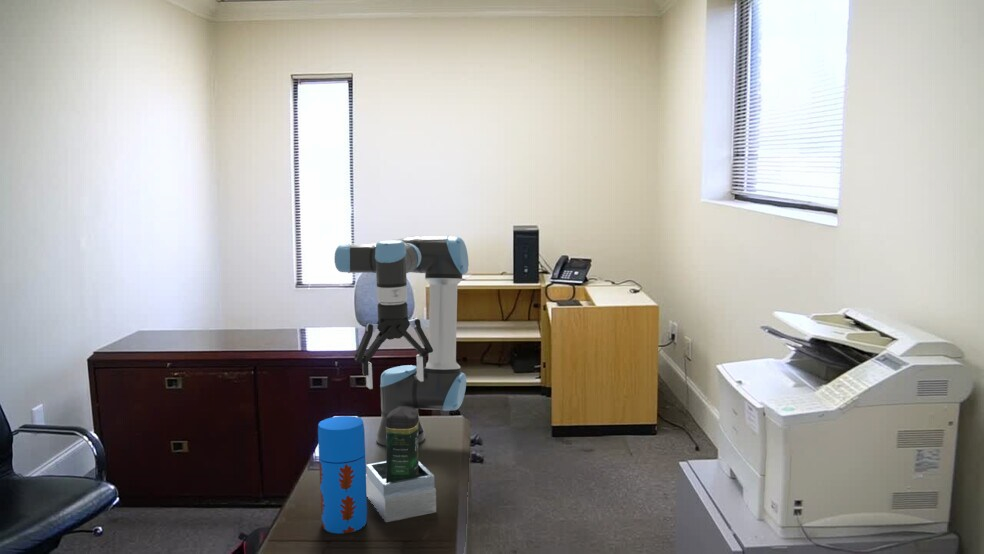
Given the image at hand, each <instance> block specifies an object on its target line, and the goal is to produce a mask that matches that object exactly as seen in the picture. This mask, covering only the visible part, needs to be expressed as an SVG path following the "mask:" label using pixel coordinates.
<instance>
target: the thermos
mask: <svg viewBox="0 0 984 554" xmlns="http://www.w3.org/2000/svg"><path fill="white" fill-rule="evenodd" d="M317 438H318V440H317V441H318V444H317V445H318V462H319V463H318V466H319V467H318V469H319V484H320V485H319V490H320V514H321V521H322V522H321V524H322V529H323V530H324V531H326V532H329V533H332V534H348V533H353V532H357V531H359V530H361V529H362V527H363V526H364V527H365V526H366V525H365V524H367V523H366V522H367V517H368V503H367V501H368V498H367V493H366V474H367V470H366V465H367V463H366V442H365V441H366V434H365V424H364V420H363V419H362V418H361V417H357V416H353V415H352V416H350V415H346V416H345V415H340V416H332V417H329V418H324V419H323V420H321V421H319V422H318V425H317ZM364 527H363V528H364ZM356 530H357V531H356Z"/></svg>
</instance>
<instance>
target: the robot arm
mask: <svg viewBox="0 0 984 554" xmlns="http://www.w3.org/2000/svg"><path fill="white" fill-rule="evenodd" d="M334 266H335V268H336V270H337V271H338V272H339V273H346V274H347V273H348V274H351V273H352V274H361V273H362V274H369V273H371V274H375V276H376V301H377V302H378V304H377V323H369V322H367V323H365V328H364V329H365V331H364V334H363V336H362V338H361V340H360V343H359V345H358V348H357V350H356V352H355V354H354V357H353V359H354V360H355V361H356V362H357V363H361V370H362V375H363V376H364V377H366V378H365V379H366V387H367V388H368V389H369V390H373V387H374V386H373V366H372V365H373V364H372V362H370V361H371V360H372V358H373V357H374V355H375V354H376V352H377V351H378V350H379V348H380V347H381V346H382V344H383V343H384V342H386V341H387V340H389V341H391V340H394V339H398V340H399V339H402V338H404V339H405V340H406V341H407V342H408V343H409V344H410V345H411V346H412V347H413V348H414V349H415V350H416V352H418V354H416V365H412V364H410V365H409V364H407V365H400V366H399V365H398V366H393V367H391V368H388V369H386V370H383V372H382V373H381V375H380V385H379V387H380V409H381V410H380V411H381V418H380V421H379V424H378V427H377V431H376V442H377V444H379V445H382V446H384V447H386V417H387V415H388V414H389V413H390V412H391V411H392V410H393V409H395V408H397V407H398V406H401V407H413V408H414V409H415V410H417V412H418V421H419V422H418V444H420V443H423V442H424V440H425V437H426V436H425V429H424V427H423V423H422V421H421V418H420V415H419V414H420V413H419V410H433V411H436V410H438V411H443V412H446V411H457V410H458V409H459V408H460V407H461V405H462V403H463V401H464V398H465V393H466V389H467V376H466V374H465V373H464V372H462V371H461V369H462V368H461V365H460V364H459V363H458V362H457V324H458V323H457V322H458V320H457V319H458V317H457V316H458V312H457V311H458V286H459V284H460V283H461V282H462V281H463V275H465V274H467V273H468V272H469V255H468V250H467V246H466V243H465V241H464V240H463V239H462V238H461V237H459V236H450V235H441V236H440V235H439V236H436V235H435V236H427V235H426V236H424V235H423V236H421V235H420V236H419V235H417V236H416V235H414V236H408V237H403V238H398V239H392V240H382V241H378V242H377V243H365V244H361V243H360V244H350V243H348V244H339V245H338V246H337V247H336V249H335V251H334ZM409 273H412V274H413V273H414V274H425V275H424V279H425V281H426V282H428V284H429V309H428V311H429V313H428V314H429V317H428V318H429V319H428V337H427V336H426V333H425V331H424V329H423V328H422V326H421V319H420V318H417V317H413V318H412V319H409V317H408V316H409V313H408V303H407V300H408V287H407V286H408V285H407V274H409ZM410 326H411V327H412V328H414V330H415V331H414V332H415V333H416V334H417V336H418V338H419V340H420V342H421V344H422V346H423V347H424V348H423V347H422V346H421V345H420V344H419V343H418V342H417V341H416V340H415V339H414V338H413V336H412V335H411V334H410V333H409V332H408V331H407V330H408V328H409V327H410ZM376 330H378V332H379V333H378V334H377V335H376V337H375V338H374V341H373V342H372V343H371V345H370V346H369V347H368V345H369V344H370V341H371V340H372V337H373V333H375V332H376ZM367 348H368V349H367ZM427 357H428V360H427Z"/></svg>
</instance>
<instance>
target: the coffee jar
mask: <svg viewBox="0 0 984 554" xmlns="http://www.w3.org/2000/svg"><path fill="white" fill-rule="evenodd" d="M418 414H419V411H418V412H417V410H415V409H414V408H413V407H401V406H398V407H397V408H395V409H393V410H392V411H391V412H390V413H389V414H388V415H387V417H386V446H385V448H386V450H385V453H386V460H385V461H386V482H387V483H389V482H394V481H400V480H405V479H411V478H416V477H418V476H419V462H420V461H419V443H418V422H419V421H418ZM418 461H419V462H418Z"/></svg>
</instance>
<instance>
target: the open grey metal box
mask: <svg viewBox="0 0 984 554" xmlns="http://www.w3.org/2000/svg"><path fill="white" fill-rule="evenodd" d="M418 462H419V476H418V477H416V478H411V479H405V480H400V481H394V482H389V483H387V482H386V460H385V461H379V462H373V463H368V464H367V463H366V493H367V497H368V498H367V500H368V501H369V500H370V501H371V502H370V501H369V502H370V503H371V505H372V504H373V505H374V506H373V505H372V506H373V507H374V509H375V508H376V509H377V510H376V509H375V510H376V511H377V513H378V512H379V513H378V514H379V515H380V517H381V516H382V517H381V518H382V520H383V519H384V520H383V521H384V522H385V523H389V522H395V521H400V520H405V519H409V518H414V517H418V516H424V515H428V514H429V515H430V514H433V513H437V488H436V487H435V475H434V474H433V473H432V472H431V471H430V470H429V469H428V468H427V467H426V466H424V464H423V463H421V461H419V460H418Z"/></svg>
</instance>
